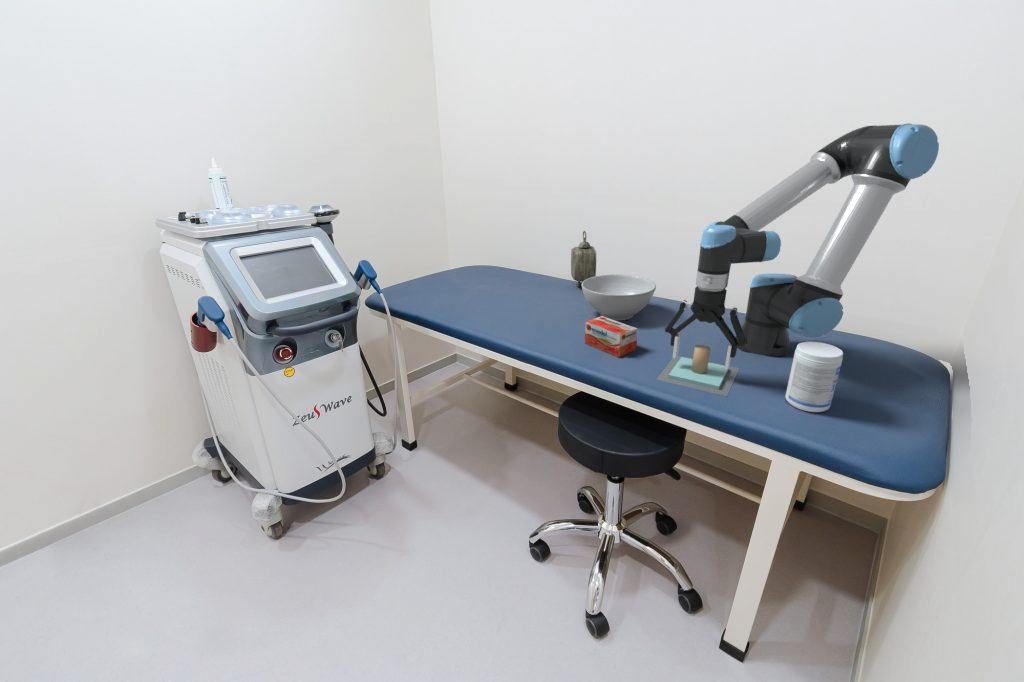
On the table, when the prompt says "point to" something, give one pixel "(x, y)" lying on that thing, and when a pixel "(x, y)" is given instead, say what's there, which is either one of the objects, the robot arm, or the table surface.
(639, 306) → the decorative bowl
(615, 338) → the medicine box
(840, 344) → the table surface
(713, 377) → the lid
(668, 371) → the mat
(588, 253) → the grey hanging weight
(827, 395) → the supplement tub
